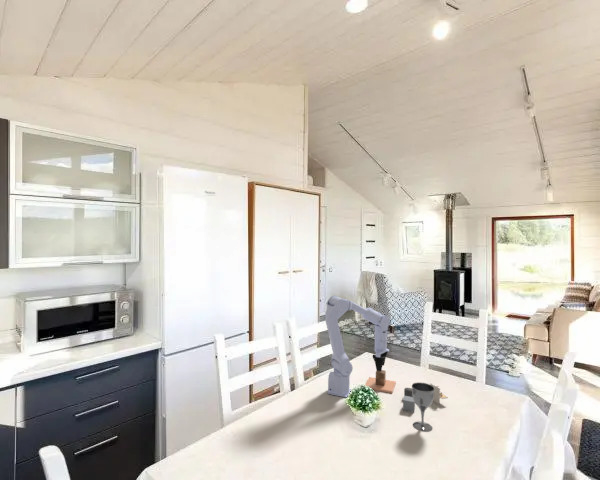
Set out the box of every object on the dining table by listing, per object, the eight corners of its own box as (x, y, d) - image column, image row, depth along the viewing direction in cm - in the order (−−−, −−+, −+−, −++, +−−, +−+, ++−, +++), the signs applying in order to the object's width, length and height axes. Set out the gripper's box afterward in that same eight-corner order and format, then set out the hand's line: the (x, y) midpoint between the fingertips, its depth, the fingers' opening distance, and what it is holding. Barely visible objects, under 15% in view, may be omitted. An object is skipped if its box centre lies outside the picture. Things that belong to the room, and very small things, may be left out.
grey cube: (402, 410, 142) (403, 399, 142) (404, 405, 146) (404, 395, 146) (414, 412, 141) (414, 402, 141) (415, 407, 145) (415, 397, 145)
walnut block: (375, 384, 165) (375, 372, 165) (377, 381, 169) (377, 369, 169) (384, 386, 163) (384, 373, 163) (385, 383, 167) (385, 370, 167)
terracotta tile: (364, 388, 163) (364, 386, 163) (369, 379, 174) (369, 377, 174) (392, 393, 158) (392, 391, 158) (395, 383, 169) (395, 381, 169)
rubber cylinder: (403, 399, 152) (403, 390, 152) (404, 395, 156) (404, 387, 156) (413, 401, 151) (413, 392, 151) (414, 397, 154) (414, 388, 154)
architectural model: (435, 398, 154) (436, 382, 154) (447, 405, 148) (447, 388, 148) (429, 399, 153) (429, 383, 153) (441, 407, 147) (441, 389, 147)
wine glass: (430, 434, 125) (430, 393, 125) (408, 427, 129) (408, 387, 129) (436, 425, 131) (436, 386, 131) (415, 418, 136) (415, 380, 136)
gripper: (386, 344, 158) (386, 374, 158) (391, 336, 171) (391, 364, 171) (371, 342, 160) (371, 371, 160) (377, 335, 174) (376, 361, 174)
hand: (380, 367), depth 166 cm, fingers open, 7 cm apart
